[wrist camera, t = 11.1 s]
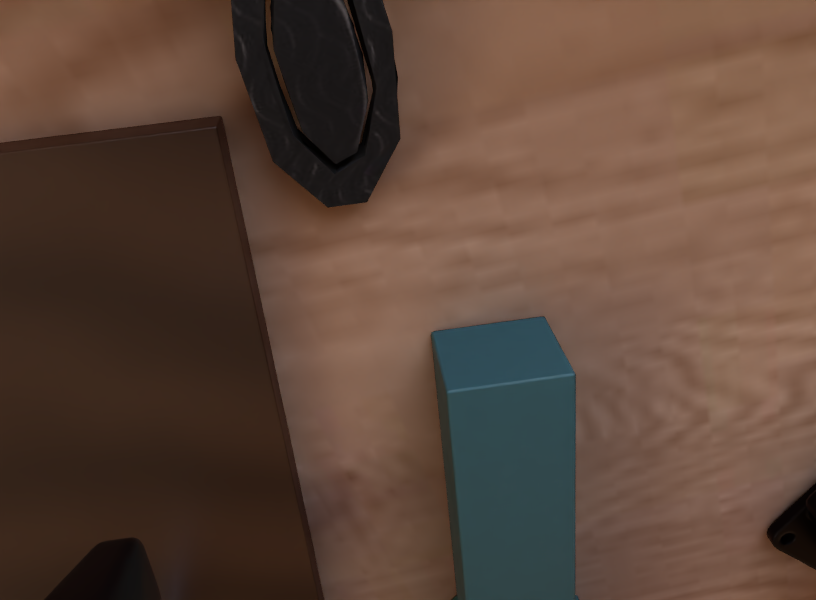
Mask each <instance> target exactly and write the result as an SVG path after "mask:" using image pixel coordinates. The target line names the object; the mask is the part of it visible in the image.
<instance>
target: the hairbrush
mask: <svg viewBox="0 0 816 600" xmlns="http://www.w3.org/2000/svg"><path fill="white" fill-rule="evenodd" d="M347 1H348V4H349V7H350V10H351V14H352V17H353V20H354V24H355V27H356V30H357V33H358V37H359V40H360V43H361V47H362V50H363V53H364V56H365V60H366V63H367V66H368V70H369V73H370V76H371V79H372V87H373V93H372V98H371V102H370V107H369V111H368V115H367V120H366V124H365V129H364V133H363V137H362V142H361V143H360V144H359V142H360V137H361V132H362V128H363V123H364V118H365V113H366V109H367V104H368V95H367V86H366V78H365V70H364V61H363V53H362V51H361V48H360V45H359V42H358V39H357V37H356V34H355V30H354V25H353V22H352V20H351V18H350V16H349V14H348V11H347V8H346V6H345V3H344V1H343V0H271V4H270V11H271V31H272V35H273V47H274V52H275V55H276V58H277V61H278V64H279V67H280V70H281V73H282V76H283V79H284V82H285V85H286V88H287V90H288V93H289V96H290V99H291V101H292V104H293V107H294V109H295V112H296V115H297V118H298V120H299V123H300V126H301V129H302V131H303V133H304V134H305V135H306V136H307V137H308V138H309V139H308V138H307V137H306V136H305V135H304V134H303V133H302V132H301V131H300V130H299V129H297V126H296V124H295V121H294V119H293V116H292V114H291V111H290V109H289V106H288V104H287V101H286V99H285V97H284V94H283V92H282V89H281V87H280V84H279V81H278V77H277V74H276V71H275V68H274V65H273V62H272V59H271V55H270V52H269V49H268V46H267V33H266V8H265V0H231V5H232V18H233V31H234V44H235V57H236V61H237V64H238V67H239V70H240V72H241V75H242V78H243V80H244V83H245V86H246V89H247V91H248V94H249V97H250V100H251V102H252V105H253V108H254V110H255V113H256V116H257V119H258V121H259V124H260V127H261V130H262V132H263V135H264V138H265V140H266V143H267V146H268V149H269V151H270V154H271V157H272V159H273V162H274V163H275V164H276V165H278V166H279V167H280V168H281V169H282V170H284V171H285V172H286V173H287V174H288V175H290V176H291V177H292V178H293V179H294V180H296V181H297V182H298V183H299V184H300V185H302V186H303V187H304V188H305V189H306V190H308V191H309V192H310V193H311V194H312V195H314V196H315V197H316V198H317V199H318V200H319V201H321V202H322V203H323V204H324V205H325V206H327V207H335V206H342V205H350V204H357V203H365V202H367V201H368V199H369V197H370V195H371V193H372V191H373V190H374V188H375V186H376V184H377V182H378V180H379V178H380V176H381V174H382V173H383V171H384V169H385V167H386V165H387V163H388V161H389V159H390V157H391V155H392V154H393V152H394V150H395V148H396V146H397V144H398V142H399V140H400V126H399V113H398V100H397V83H398V76H397V71H396V65H395V60H394V48H393V35H392V29H391V26H390V23H389V20H388V17H387V14H386V11H385V8H384V4H383V1H382V0H347Z"/></svg>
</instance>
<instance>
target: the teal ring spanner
mask: <svg viewBox="0 0 816 600" xmlns="http://www.w3.org/2000/svg"><path fill="white" fill-rule="evenodd" d="M431 339H432V349H433V359H434V369H435V379H436V389H437V399H438V409H439V419H440V429H441V440H442V450H443V460H444V470H445V480H446V490H447V500H448V510H449V520H450V530H451V540H452V550H453V560H454V570H455V580H456V590H457V595H456V596H455V597H454V598H453V599H452V600H579V598H578V596H577V595H575V432H576V374H575V372H574V371H573V369H572V367H571V365H570V363H569V361H568V359H567V358H566V356H565V354H564V352H563V350H562V348H561V346H560V345H559V343H558V341H557V339H556V337H555V335H554V334H553V332H552V330H551V328H550V326H549V324H548V322H547V321H546V319H545V317H535V318H528V319H521V320H513V321H506V322H499V323H492V324H484V325H477V326H470V327H462V328H455V329H448V330H441V331H434V332H432V334H431Z"/></svg>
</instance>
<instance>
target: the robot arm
mask: <svg viewBox="0 0 816 600" xmlns="http://www.w3.org/2000/svg"><path fill="white" fill-rule="evenodd" d="M767 537H768V538H769V540H770V541H771V543H772V544H773V545H774V547H776V548H777V549H778V550H780V551H782V552H784V553H786V554H788V555H790V556H791V557H793V558H795V559H797V560H799V561H801V562H802V563H804V564H806V565H808V566H810V567H812V568H814V569H815V570H816V484H815V485H813V486H812V487H811V488H810V489H809V490H808V491H807V492H806V493H805V494H804V495H803V496H802V497H801V498H799V499H798V500H797V501H796V502H795V503H794V504H793V505H792V506H791V507H790V508H789V509H788V510H787V511H785V512H784V513H783V514H782V515H781V516H780V517H779V518H778V519H777V520H776V521H775V522H774V523H772V524H771V526H770V527H769V528H768V530H767ZM44 600H161V596H160V591H159V588H158V585H157V582H156V579H155V576H154V573H153V570H152V568H151V565H150V562H149V559H148V556H147V553H146V550H145V548H144V545H143V544H142V542H141V541H140V540H139V539H137V538H134V537H130V538H123V539H116V540H109V541H104V542H101V543H99V544H97V545H96V546H95V547H93V548H92V549H91V550H90V551H89V553H88V554H87V555H86V556H85V557H84V558H83V559H82V560H81V561H80V562H79V563H78V564H77V565H76V566H75V567H74V568H73V569H72V570H71V571H70V573H69V574H68V575H67V576H66V577H65V578H64V579H63V580H62V581H61V582H60V583H59V584H58V585H57V586H56V587H55V588H54V589H53V590H52V591H51V592H50V594H49V595H48V596H47V597H46V598H45V599H44Z"/></svg>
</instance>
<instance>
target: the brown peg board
mask: <svg viewBox="0 0 816 600" xmlns="http://www.w3.org/2000/svg"><path fill="white" fill-rule="evenodd" d="M130 537H134V538H137V539H139V540H140V541H141V542H142V544H143V545H144V548H145V550H146V553H147V556H148V559H149V562H150V565H151V568H152V570H153V573H154V576H155V579H156V582H157V585H158V588H159V591H160V596H161V600H324V596H323V592H322V587H321V582H320V577H319V573H318V568H317V563H316V559H315V554H314V549H313V544H312V540H311V535H310V530H309V526H308V521H307V516H306V511H305V507H304V502H303V497H302V493H301V488H300V483H299V479H298V474H297V469H296V464H295V460H294V455H293V450H292V446H291V441H290V436H289V431H288V427H287V422H286V417H285V413H284V408H283V403H282V398H281V394H280V389H279V384H278V380H277V375H276V370H275V366H274V361H273V356H272V351H271V347H270V342H269V337H268V333H267V328H266V323H265V318H264V314H263V309H262V304H261V300H260V295H259V290H258V285H257V281H256V276H255V271H254V267H253V262H252V257H251V253H250V248H249V243H248V238H247V234H246V229H245V224H244V220H243V215H242V210H241V205H240V201H239V196H238V191H237V187H236V182H235V177H234V172H233V168H232V163H231V158H230V154H229V149H228V144H227V140H226V135H225V130H224V125H223V121H222V117H220V116H217V117H208V118H200V119H192V120H184V121H176V122H168V123H160V124H151V125H143V126H135V127H127V128H119V129H111V130H102V131H94V132H86V133H78V134H70V135H62V136H53V137H45V138H37V139H29V140H21V141H13V142H4V143H0V600H44V599H45V598H46V597H47V596H48V595H49V594H50V592H51V591H52V590H53V589H54V588H55V587H56V586H57V585H58V584H59V583H60V582H61V581H62V580H63V579H64V578H65V577H66V576H67V575H68V574H69V573H70V571H71V570H72V569H73V568H74V567H75V566H76V565H77V564H78V563H79V562H80V561H81V560H82V559H83V558H84V557H85V556H86V555H87V554H88V553H89V551H90V550H91V549H92V548H93V547H95V546H96V545H97V544H99V543H101V542H104V541H109V540H116V539H123V538H130Z"/></svg>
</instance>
